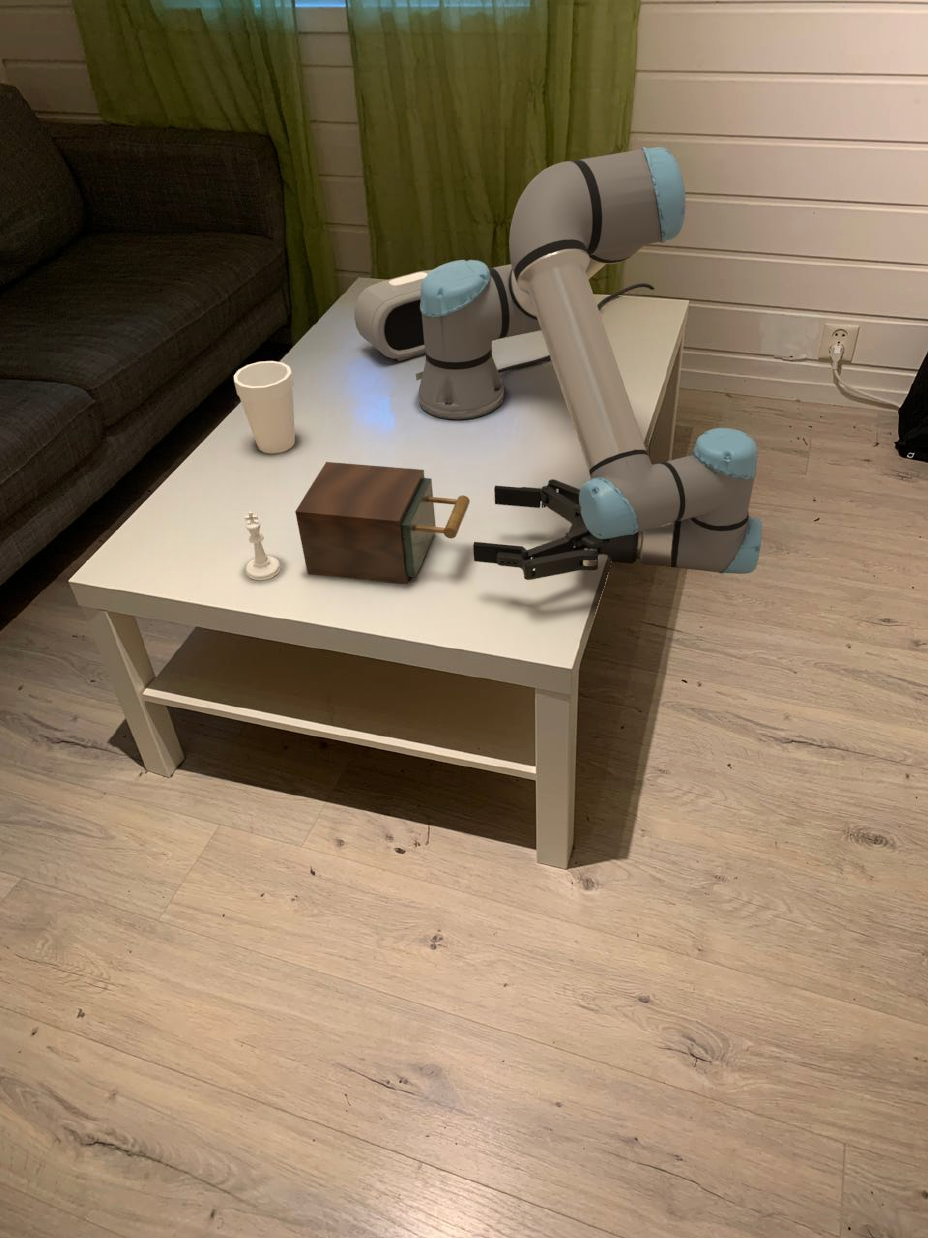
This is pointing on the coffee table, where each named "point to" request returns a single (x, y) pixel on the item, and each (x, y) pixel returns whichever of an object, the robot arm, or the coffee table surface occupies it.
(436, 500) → the drawer
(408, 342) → the alarm clock
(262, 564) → the chess piece
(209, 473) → the coffee table surface
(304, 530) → the cabinet
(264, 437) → the foam cup
